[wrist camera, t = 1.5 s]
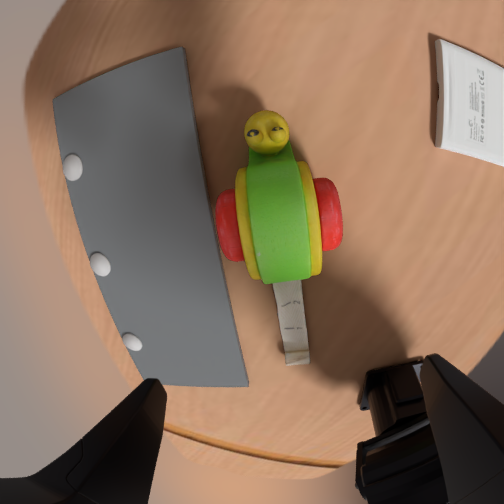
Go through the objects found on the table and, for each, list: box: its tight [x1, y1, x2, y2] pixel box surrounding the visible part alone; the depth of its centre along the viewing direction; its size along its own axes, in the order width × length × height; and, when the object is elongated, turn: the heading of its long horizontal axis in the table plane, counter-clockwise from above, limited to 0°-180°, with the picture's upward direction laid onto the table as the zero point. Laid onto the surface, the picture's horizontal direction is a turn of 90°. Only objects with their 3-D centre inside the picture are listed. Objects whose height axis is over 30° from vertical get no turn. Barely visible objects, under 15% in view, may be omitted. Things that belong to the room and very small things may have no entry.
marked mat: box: [53, 47, 249, 387], centre depth 20 cm, size 28×11×1 cm, turn 8°
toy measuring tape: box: [216, 110, 343, 366], centre depth 17 cm, size 6×20×7 cm, turn 9°
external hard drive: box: [435, 39, 504, 167], centre depth 13 cm, size 2×8×12 cm
